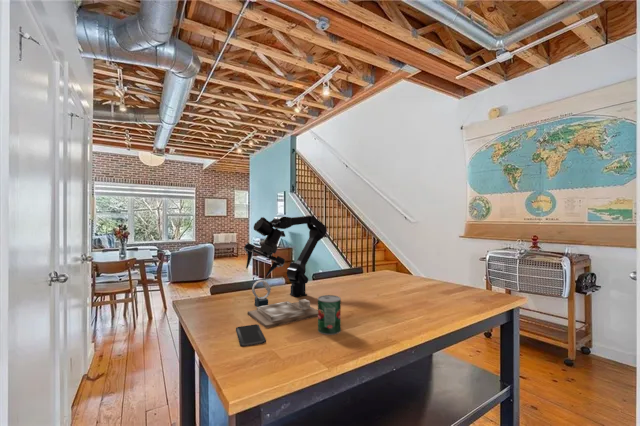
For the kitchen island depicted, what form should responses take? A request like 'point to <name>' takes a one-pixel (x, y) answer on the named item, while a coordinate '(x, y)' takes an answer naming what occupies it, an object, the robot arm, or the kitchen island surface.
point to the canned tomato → (329, 314)
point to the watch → (261, 300)
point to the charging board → (283, 313)
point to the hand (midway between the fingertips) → (256, 272)
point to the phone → (250, 335)
